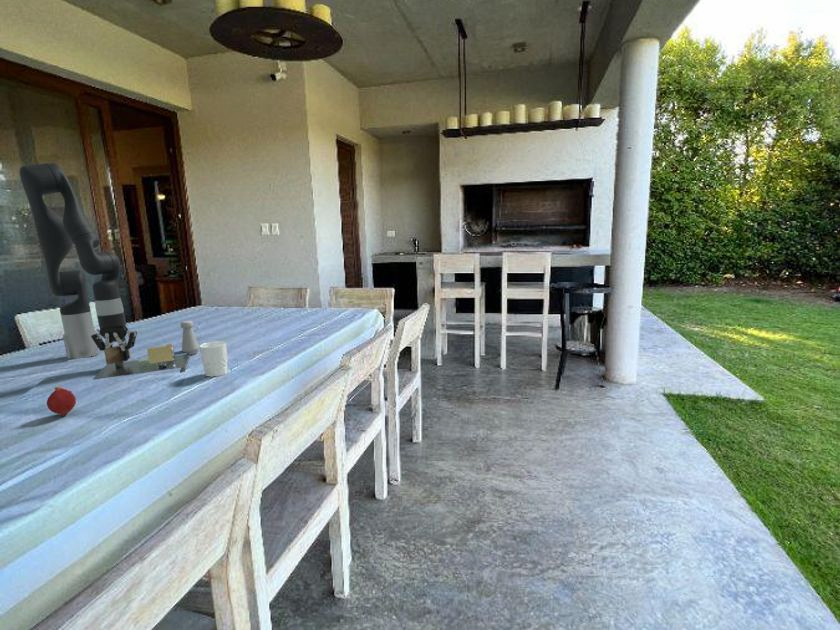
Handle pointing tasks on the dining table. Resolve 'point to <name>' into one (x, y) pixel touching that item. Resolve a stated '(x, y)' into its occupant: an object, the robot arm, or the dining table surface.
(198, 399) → the dining table surface
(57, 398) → the onion
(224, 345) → the white cup
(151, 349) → the pale yellow sponge
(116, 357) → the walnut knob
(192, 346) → the salt shaker
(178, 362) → the level plate
